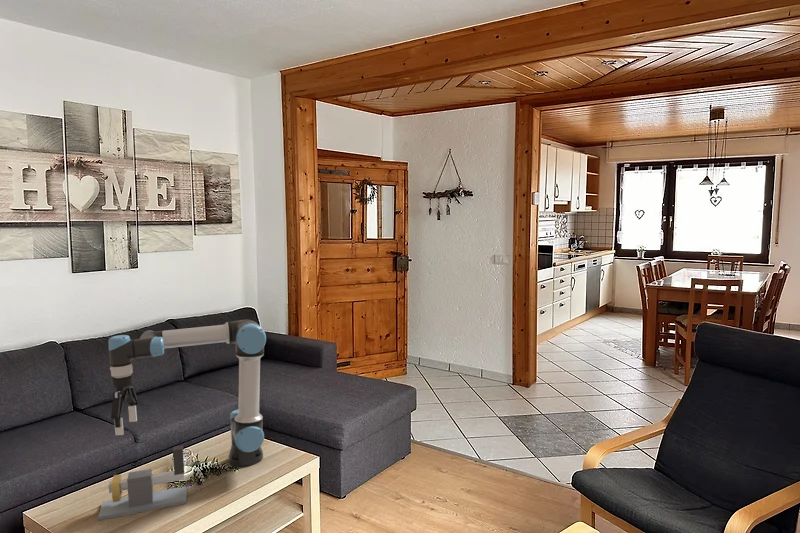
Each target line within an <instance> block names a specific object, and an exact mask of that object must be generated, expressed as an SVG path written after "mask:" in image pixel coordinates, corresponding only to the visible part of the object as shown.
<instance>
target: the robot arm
mask: <svg viewBox="0 0 800 533" xmlns="http://www.w3.org/2000/svg"><path fill="white" fill-rule="evenodd" d="M266 342H267V335H266V332H265V330H264V329H263V328H262V326H261V325H259V323H257V322H256V321H255V320H252V319H240V320H239V319H238V320H234V321H226V322H225V323H223V324H217V325H210V326H198V327H197V326H196V327H190V328H187V327H186V328H178V329H177V328H176V329H168V330H157V331H154V330H146V331H144V332H143V333H142V334H141V335H140V336H139V338H137V339H131V337H130V336H129V335H127V334H120V335H119V334H118V335H115V336H111V337H109V339H108V356H109V357H108V358H109V364H110V367H109V370H110V375H111V386H112V387H113V388H115V389H116V392H112V406H111V414H110V420H113V421H114V432H115V436H123V435H124V423H123V422H124V421H123V417H122V414H123V409H124V405H125V402H127V404H128V407H127V408H128V409H127V410H128V421H129V423H133V422H137V421H138V415H137V414H138V413H137V405H139V399H138V396H137V392H136V390H135V387H134V375H133V373H134V372H133V371H134V370H133V360H137V359H145V358H156V357H159V356H163V355H165V349H173V348H181V347H189V346H191V347H192V346H200V345H209V344H210V345H211V344H219V343H226V344H228V345H230V344H235V356H236V357H237V359H238V405H237V406H238V408H237V409H235V410H233V411H231V412H230V414H229V415H230V416H229V420H230V437H231V438H230V439H231V446H230V448H229V453H228V457H227V458H228V464H229V465H231V466H234V467H249V466H253V465H255V464H258V463H259V462H261V461H262V460H264V452H263V449H262V447H261V446H262V445H263V443H264V441H265V432H264V431H263V430H264V429H263V426H264V425H263V424H264V423H263V422H264V421H263V419H264V418H263V417H264V416H263V415H262V414H261V413H260V388H261V387H260V385H261V383H260V382H261V358H262V357H263V356H264V355H265V345H266Z"/></svg>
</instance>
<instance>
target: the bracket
mask: <svg viewBox="0 0 800 533" xmlns="http://www.w3.org/2000/svg"><path fill="white" fill-rule="evenodd" d="M152 470H153V468H147V469H142V470H136V471H130V472H128V474H127V478H126V479H127V484H128V490H127V494H128V495H127V497H125V496H124V497H121V500H120V501H118V502H113V500H112V499H110V500H105V501H102V504H101V506H100V510H99V513H98V515H97V521H100V520H101V521H102V520H108V519H113V518H118V517H121V516H127V515H132V514H137V513H142V512H148V511H153V510H158V509H164V508H169V507H173V506H178V505H180V506H181V505H184V504H187V489H188V488H187V485H184V486H181V487H182V488H179V487H174V488H169V489H164V490H158V491H154V485H152V484H151V474H153V471H152Z"/></svg>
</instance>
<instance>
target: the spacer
mask: <svg viewBox="0 0 800 533" xmlns="http://www.w3.org/2000/svg"><path fill="white" fill-rule="evenodd" d="M121 480H123V478H122V473H120V474H115V475H113V477H112V480H111V481H112V483H111V486H112V493H111V496H112V497H111V498H112V499H111V500H113V502H118V501H120V500H121V498H122V496H123V491H120V481H121Z"/></svg>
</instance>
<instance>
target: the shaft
mask: <svg viewBox="0 0 800 533" xmlns="http://www.w3.org/2000/svg"><path fill="white" fill-rule="evenodd" d="M172 457H173V470H170V471H169V470H168V471H163V472H158V473H152V474H151V484H152V485H153V486H156V485H160V484H166V483H172V482H173V483H174V482H176V481H183V480H185V461H184V459H185V458H184V446H183V445H177V446H173V447H172ZM111 483H112V480H111V481H109V483H108V493H109V494H112V486H111ZM120 491H122V492H123V491H128V484H127V478H122V480H121V481H120Z"/></svg>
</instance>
